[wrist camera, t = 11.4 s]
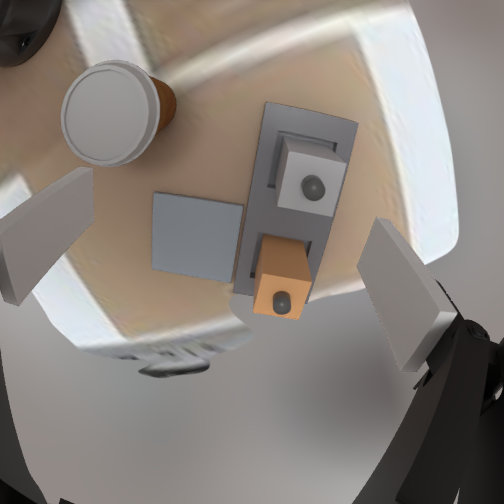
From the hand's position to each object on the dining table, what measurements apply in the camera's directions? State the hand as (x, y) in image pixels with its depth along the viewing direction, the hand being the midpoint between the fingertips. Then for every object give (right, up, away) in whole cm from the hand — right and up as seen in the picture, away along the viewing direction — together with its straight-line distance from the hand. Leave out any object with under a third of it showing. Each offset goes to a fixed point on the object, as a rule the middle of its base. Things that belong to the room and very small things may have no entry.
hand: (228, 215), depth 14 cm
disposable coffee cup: (-11, +15, +18) cm, 26 cm away
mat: (-6, 0, +26) cm, 27 cm away
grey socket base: (+6, +4, +24) cm, 25 cm away
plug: (+4, -2, +26) cm, 27 cm away
